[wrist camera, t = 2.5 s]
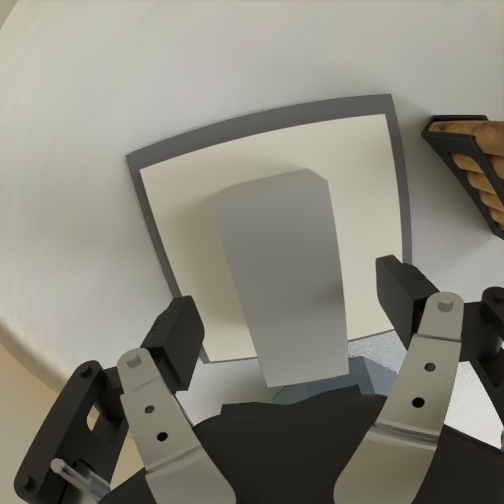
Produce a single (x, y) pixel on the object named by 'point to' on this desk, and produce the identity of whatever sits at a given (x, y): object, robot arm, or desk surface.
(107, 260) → the desk surface
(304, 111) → the mat
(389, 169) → the lid
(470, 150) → the ammunition clip
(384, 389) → the bowl
